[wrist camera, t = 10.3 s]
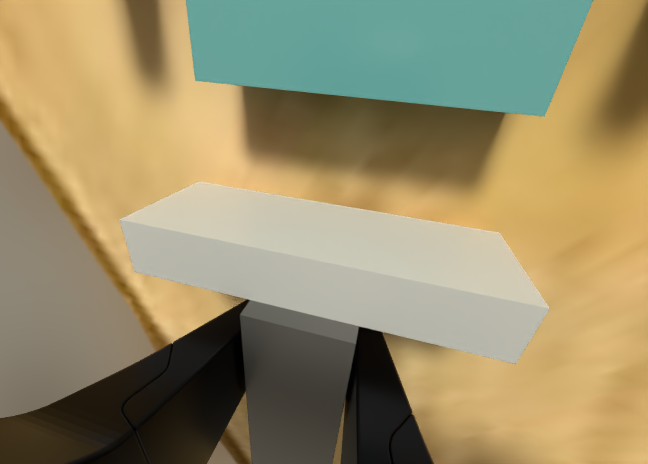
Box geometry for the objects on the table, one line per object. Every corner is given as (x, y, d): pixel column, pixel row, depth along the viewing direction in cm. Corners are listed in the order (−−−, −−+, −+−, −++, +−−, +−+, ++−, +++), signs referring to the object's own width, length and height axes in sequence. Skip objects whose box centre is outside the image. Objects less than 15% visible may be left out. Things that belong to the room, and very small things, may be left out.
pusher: (415, 427, 12) (420, 540, 9) (224, 370, 14) (174, 452, 11) (499, 232, 8) (564, 329, 5) (199, 181, 9) (99, 229, 6)
